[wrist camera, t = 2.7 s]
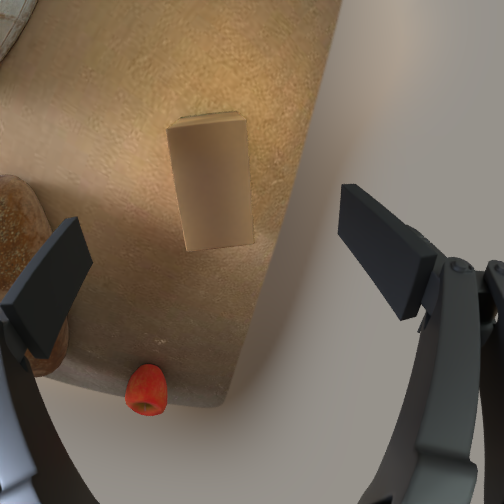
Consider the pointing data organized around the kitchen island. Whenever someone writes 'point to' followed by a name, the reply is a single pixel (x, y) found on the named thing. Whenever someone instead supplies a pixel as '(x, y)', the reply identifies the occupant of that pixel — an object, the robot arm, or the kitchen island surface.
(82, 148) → the kitchen island surface
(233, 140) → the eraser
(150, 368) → the apple
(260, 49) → the kitchen island surface
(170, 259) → the kitchen island surface
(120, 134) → the kitchen island surface
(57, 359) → the bread
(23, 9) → the white milk churn
